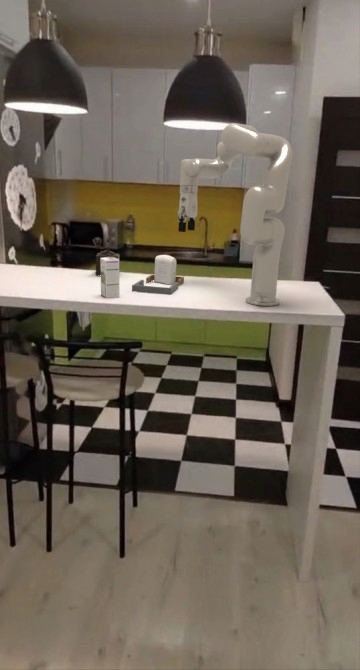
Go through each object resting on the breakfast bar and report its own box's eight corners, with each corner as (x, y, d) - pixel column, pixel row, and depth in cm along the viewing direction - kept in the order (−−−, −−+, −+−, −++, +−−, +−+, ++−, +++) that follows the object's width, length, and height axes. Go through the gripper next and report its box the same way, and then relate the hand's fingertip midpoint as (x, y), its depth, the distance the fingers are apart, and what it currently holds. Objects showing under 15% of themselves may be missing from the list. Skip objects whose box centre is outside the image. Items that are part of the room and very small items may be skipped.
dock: (179, 286, 219) (179, 280, 218) (146, 283, 221) (146, 277, 221) (183, 282, 227) (184, 276, 226) (151, 280, 230) (151, 274, 229)
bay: (170, 294, 201) (171, 288, 200) (132, 291, 204) (132, 285, 203) (178, 288, 213) (178, 282, 213) (141, 285, 216) (141, 279, 216)
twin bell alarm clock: (96, 272, 244) (96, 234, 239) (119, 273, 245) (120, 235, 240) (92, 278, 229) (92, 237, 224) (117, 278, 230) (117, 238, 225)
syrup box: (120, 297, 192) (120, 259, 188) (105, 298, 190) (105, 259, 185) (114, 294, 197) (114, 256, 193) (100, 295, 194) (99, 257, 190)
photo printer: (177, 284, 223) (178, 256, 219) (171, 285, 219) (172, 256, 216) (158, 281, 228) (159, 253, 225) (152, 282, 225) (153, 254, 221)
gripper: (188, 190, 206) (186, 233, 211) (204, 190, 221) (202, 230, 226) (172, 189, 209) (170, 231, 214) (188, 189, 224) (186, 229, 229)
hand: (186, 231), depth 220 cm, fingers open, 9 cm apart
